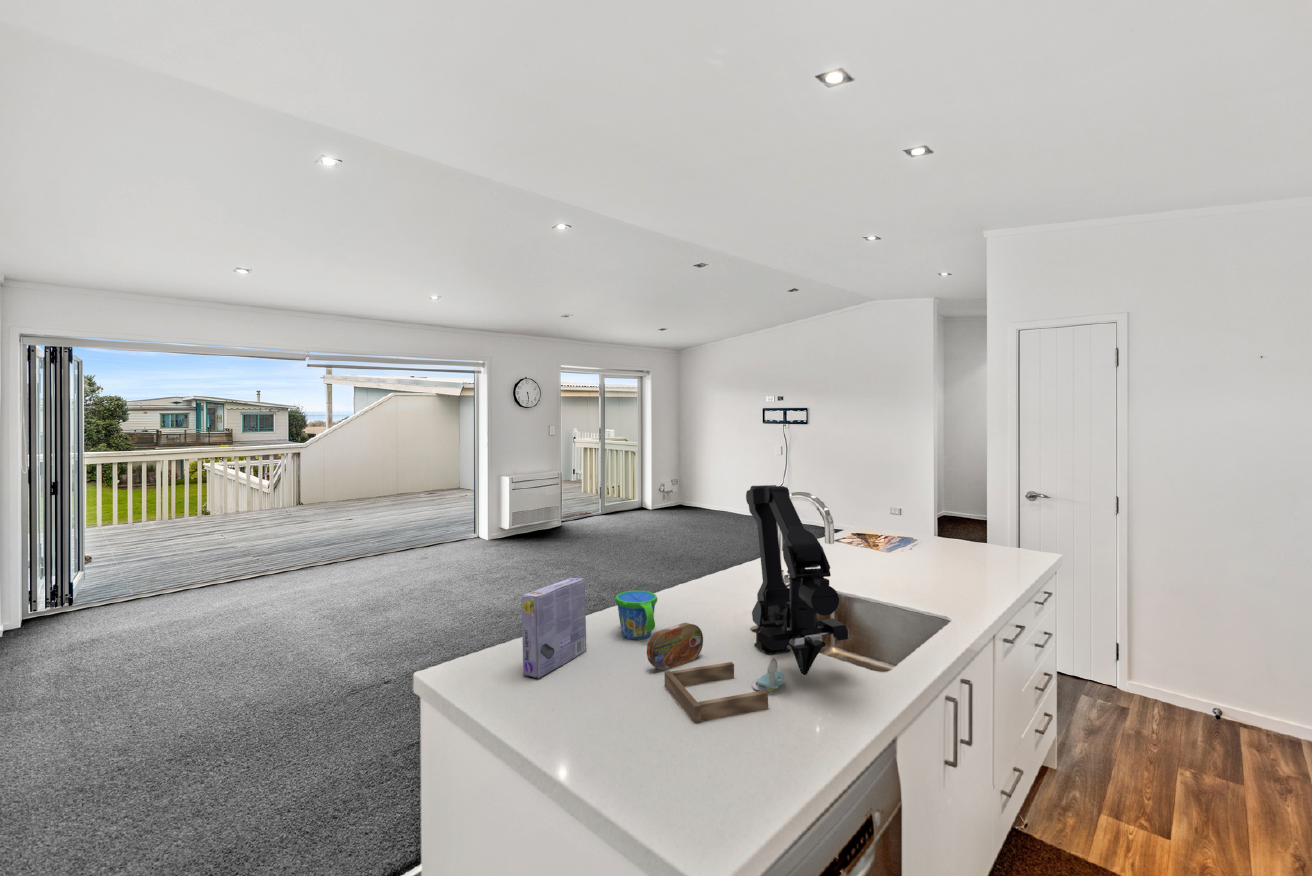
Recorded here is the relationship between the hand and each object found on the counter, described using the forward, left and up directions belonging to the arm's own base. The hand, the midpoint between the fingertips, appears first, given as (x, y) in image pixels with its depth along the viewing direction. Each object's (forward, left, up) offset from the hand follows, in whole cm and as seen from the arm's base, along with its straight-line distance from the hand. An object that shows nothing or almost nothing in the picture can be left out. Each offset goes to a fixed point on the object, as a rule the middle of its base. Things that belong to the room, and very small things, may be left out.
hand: (803, 674), depth 122 cm
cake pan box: (+47, -28, -2) cm, 55 cm away
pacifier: (+8, -1, -2) cm, 9 cm away
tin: (+22, -18, -2) cm, 28 cm away
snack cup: (+25, -38, -2) cm, 45 cm away
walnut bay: (+21, 0, -2) cm, 21 cm away
